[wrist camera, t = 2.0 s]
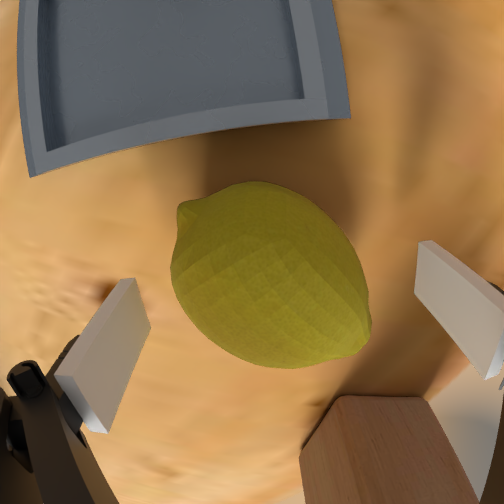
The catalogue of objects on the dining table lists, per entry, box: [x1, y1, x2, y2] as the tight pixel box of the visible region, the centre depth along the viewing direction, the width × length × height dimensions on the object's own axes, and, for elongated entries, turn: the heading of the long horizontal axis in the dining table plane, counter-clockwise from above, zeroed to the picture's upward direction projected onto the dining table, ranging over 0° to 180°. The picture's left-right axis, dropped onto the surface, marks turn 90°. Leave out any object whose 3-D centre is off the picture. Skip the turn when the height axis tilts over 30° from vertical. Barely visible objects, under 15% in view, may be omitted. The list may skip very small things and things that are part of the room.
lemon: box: [170, 181, 372, 369], centre depth 15 cm, size 11×8×8 cm
